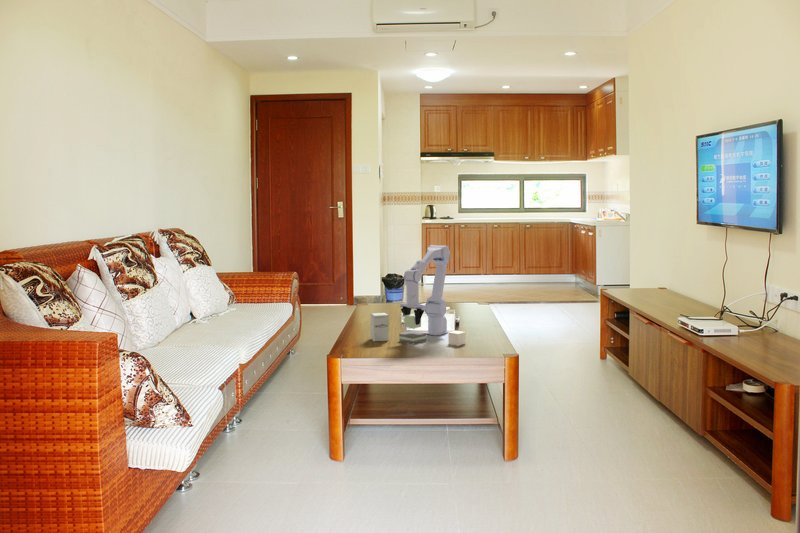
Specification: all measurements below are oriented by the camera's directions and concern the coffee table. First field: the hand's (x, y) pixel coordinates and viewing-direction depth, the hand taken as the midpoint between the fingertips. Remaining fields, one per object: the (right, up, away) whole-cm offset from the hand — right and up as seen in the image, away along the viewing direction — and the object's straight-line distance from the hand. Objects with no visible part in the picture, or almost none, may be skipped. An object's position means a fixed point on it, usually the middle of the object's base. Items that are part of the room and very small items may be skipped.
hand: (412, 323), depth 322 cm
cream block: (+20, -9, -6) cm, 23 cm away
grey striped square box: (0, -9, +1) cm, 9 cm away
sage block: (0, -2, 0) cm, 2 cm away
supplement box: (-16, -8, +4) cm, 18 cm away
